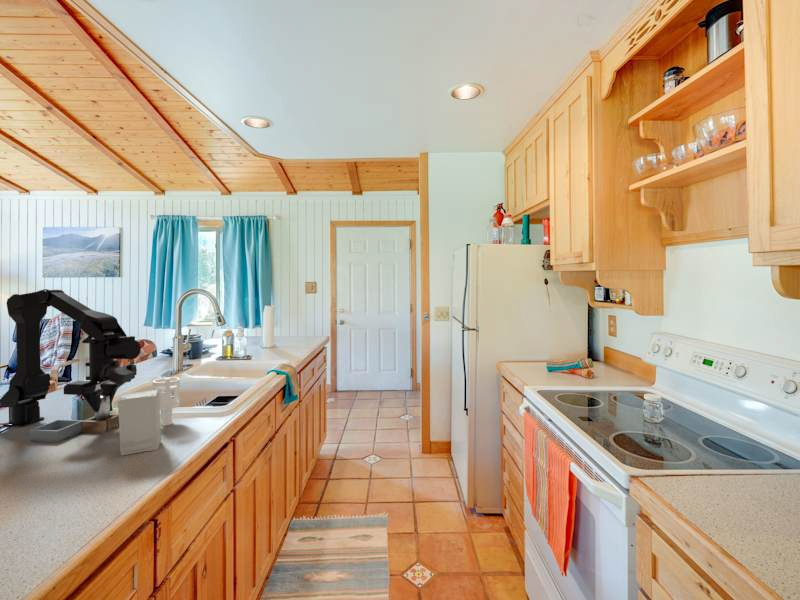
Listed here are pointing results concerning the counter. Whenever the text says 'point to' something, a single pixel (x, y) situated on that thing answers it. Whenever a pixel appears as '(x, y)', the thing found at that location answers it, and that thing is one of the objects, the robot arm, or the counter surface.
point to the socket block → (100, 424)
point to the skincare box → (139, 422)
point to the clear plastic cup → (167, 397)
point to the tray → (56, 430)
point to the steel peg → (103, 408)
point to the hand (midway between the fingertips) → (102, 409)
